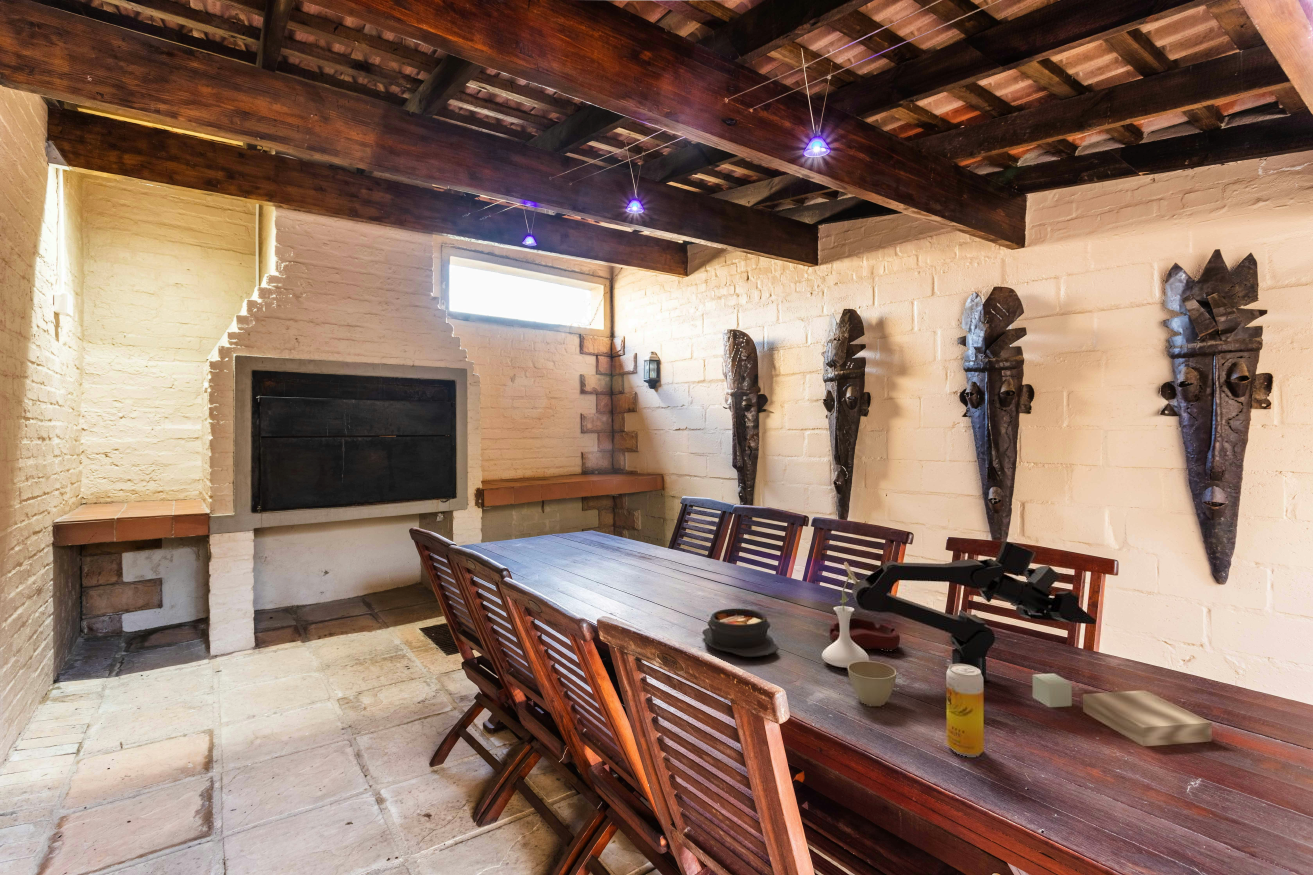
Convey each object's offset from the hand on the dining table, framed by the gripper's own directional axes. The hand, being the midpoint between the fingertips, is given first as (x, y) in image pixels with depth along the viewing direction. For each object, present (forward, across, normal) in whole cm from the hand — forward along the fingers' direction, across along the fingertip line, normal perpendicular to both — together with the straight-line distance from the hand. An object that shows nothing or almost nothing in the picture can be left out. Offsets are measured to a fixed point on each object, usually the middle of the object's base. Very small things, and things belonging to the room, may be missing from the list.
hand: (1082, 621), depth 140 cm
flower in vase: (-41, +15, +32) cm, 54 cm away
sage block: (-4, -6, +20) cm, 21 cm away
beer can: (-27, -25, +37) cm, 52 cm away
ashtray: (-35, +29, +25) cm, 52 cm away
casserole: (-66, +26, +40) cm, 81 cm away
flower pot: (-39, -6, +37) cm, 54 cm away
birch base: (+7, -16, +18) cm, 25 cm away
